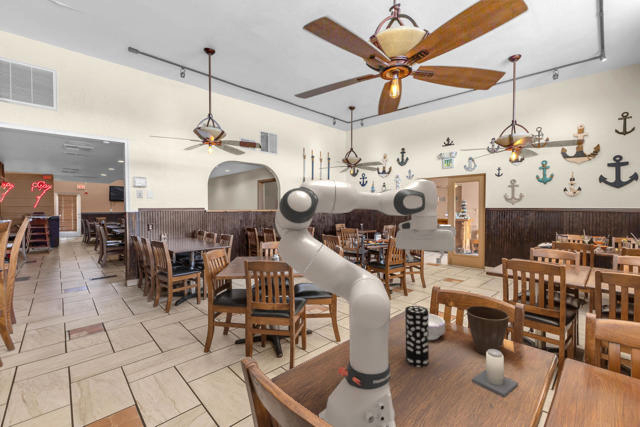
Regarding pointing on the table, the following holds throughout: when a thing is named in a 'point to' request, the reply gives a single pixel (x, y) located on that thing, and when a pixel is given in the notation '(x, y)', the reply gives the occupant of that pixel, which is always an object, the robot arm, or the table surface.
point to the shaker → (495, 367)
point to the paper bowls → (435, 326)
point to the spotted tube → (417, 336)
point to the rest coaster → (497, 389)
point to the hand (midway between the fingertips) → (424, 262)
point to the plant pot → (487, 327)
